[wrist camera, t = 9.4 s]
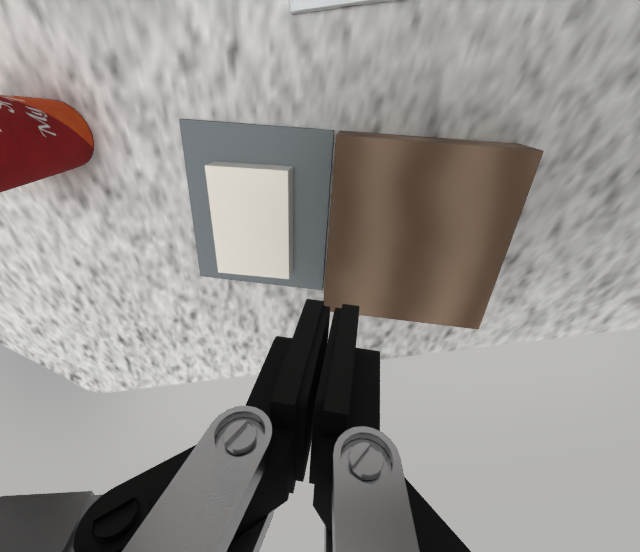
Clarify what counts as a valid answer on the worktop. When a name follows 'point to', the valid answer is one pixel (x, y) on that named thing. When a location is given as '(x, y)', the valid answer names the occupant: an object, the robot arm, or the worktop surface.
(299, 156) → the mat
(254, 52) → the worktop surface
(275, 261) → the cream rectangular block
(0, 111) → the paper cup
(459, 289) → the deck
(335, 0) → the external hard drive
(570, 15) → the worktop surface
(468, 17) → the worktop surface
